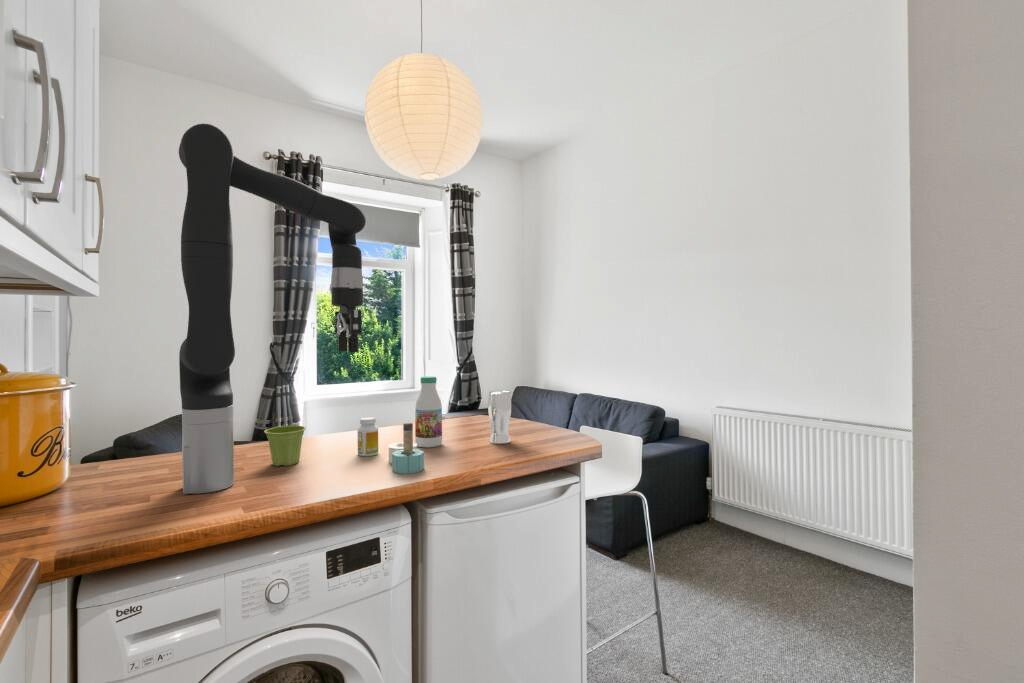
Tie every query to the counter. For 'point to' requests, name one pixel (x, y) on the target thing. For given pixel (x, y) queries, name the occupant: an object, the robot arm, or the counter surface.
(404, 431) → the needle dowel
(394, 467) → the teal bead
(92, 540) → the counter surface
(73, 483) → the counter surface
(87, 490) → the counter surface
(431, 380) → the milk bottle
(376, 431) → the supplement bottle
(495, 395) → the beer glass
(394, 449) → the cream bead
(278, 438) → the plant pot
